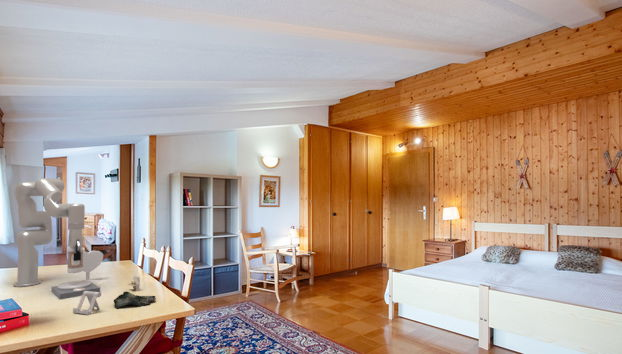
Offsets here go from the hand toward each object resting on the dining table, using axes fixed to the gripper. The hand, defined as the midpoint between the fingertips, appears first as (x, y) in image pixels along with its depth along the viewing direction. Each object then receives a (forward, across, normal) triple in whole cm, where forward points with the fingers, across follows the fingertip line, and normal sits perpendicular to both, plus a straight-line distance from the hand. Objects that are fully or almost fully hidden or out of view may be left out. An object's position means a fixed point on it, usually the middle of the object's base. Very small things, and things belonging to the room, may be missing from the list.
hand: (75, 259), depth 199 cm
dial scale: (+17, +2, 0) cm, 17 cm away
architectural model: (+18, +21, +24) cm, 37 cm away
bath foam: (+7, 0, 0) cm, 7 cm away
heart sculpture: (+17, -22, +11) cm, 30 cm away
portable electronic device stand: (+17, +46, -4) cm, 50 cm away
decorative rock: (+18, +48, +16) cm, 53 cm away
